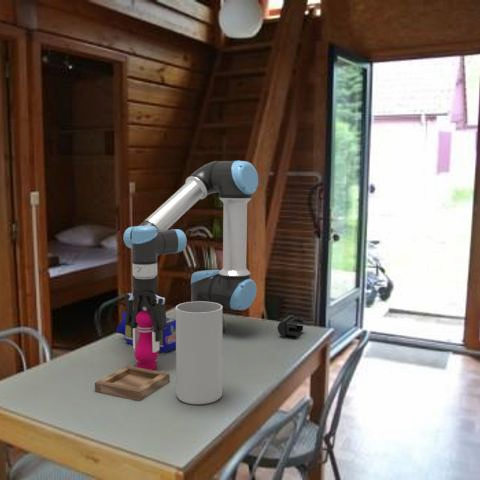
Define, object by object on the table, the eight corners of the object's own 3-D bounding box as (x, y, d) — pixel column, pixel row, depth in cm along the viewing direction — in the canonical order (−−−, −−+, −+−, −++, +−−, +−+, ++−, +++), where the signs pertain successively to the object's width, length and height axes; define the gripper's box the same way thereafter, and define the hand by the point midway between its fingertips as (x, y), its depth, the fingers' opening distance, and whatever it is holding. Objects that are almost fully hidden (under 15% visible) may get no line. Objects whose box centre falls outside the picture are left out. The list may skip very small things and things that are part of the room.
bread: (164, 355, 183) (164, 325, 182) (114, 341, 198) (113, 313, 196) (184, 347, 191) (184, 318, 190) (135, 334, 206) (134, 307, 205)
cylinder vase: (179, 386, 156) (179, 301, 153) (223, 387, 156) (223, 301, 153) (173, 405, 144) (172, 312, 141) (220, 406, 144) (220, 313, 141)
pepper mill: (149, 362, 176) (148, 301, 174) (162, 368, 171) (162, 305, 169) (130, 367, 171) (129, 305, 169) (143, 374, 166) (142, 309, 164)
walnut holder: (127, 373, 166) (127, 365, 166) (169, 381, 160) (169, 373, 160) (94, 391, 153) (94, 382, 152) (139, 401, 147) (139, 392, 146)
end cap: (285, 330, 212) (285, 313, 211) (303, 333, 209) (303, 315, 208) (277, 338, 203) (277, 320, 202) (295, 340, 200) (295, 322, 199)
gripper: (111, 276, 168) (113, 348, 171) (165, 281, 160) (166, 357, 163) (126, 271, 175) (127, 341, 178) (178, 277, 167) (179, 350, 170)
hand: (146, 349), depth 170 cm, fingers closed on pepper mill, 6 cm apart
